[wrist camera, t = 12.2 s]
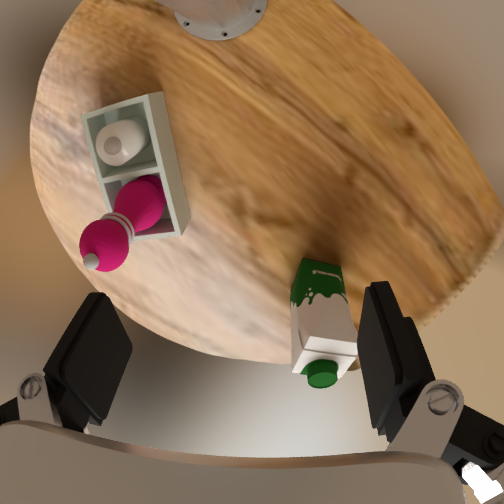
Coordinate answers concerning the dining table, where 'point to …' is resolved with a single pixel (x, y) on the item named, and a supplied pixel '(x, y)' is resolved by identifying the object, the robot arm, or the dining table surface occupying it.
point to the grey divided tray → (142, 161)
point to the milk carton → (321, 324)
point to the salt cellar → (123, 140)
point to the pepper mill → (122, 223)
